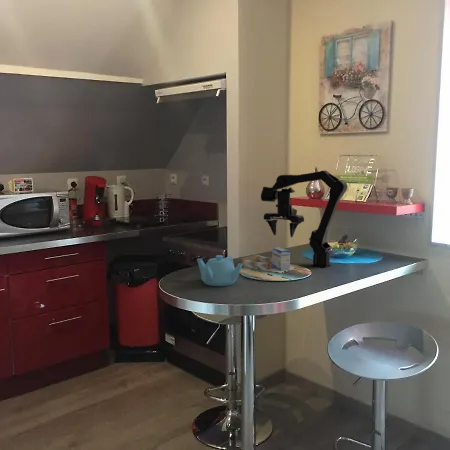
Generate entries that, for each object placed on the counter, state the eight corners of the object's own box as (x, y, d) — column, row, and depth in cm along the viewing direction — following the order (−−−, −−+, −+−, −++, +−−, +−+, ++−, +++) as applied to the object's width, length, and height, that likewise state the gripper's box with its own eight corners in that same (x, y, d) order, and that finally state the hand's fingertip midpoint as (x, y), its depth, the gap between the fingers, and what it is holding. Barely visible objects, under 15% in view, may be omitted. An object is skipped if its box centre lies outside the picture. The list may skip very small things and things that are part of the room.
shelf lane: (282, 266, 229) (282, 258, 229) (266, 271, 220) (266, 263, 219) (257, 261, 238) (257, 254, 237) (240, 266, 228) (240, 258, 228)
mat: (295, 268, 224) (295, 267, 224) (280, 273, 215) (280, 272, 215) (282, 266, 229) (282, 265, 229) (266, 271, 220) (266, 270, 220)
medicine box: (271, 267, 225) (271, 247, 224) (280, 266, 227) (280, 247, 226) (281, 271, 218) (281, 250, 217) (290, 270, 220) (290, 250, 219)
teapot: (243, 286, 195) (244, 258, 193) (205, 289, 191) (205, 260, 190) (232, 277, 210) (233, 251, 208) (196, 279, 206) (196, 252, 204)
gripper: (310, 202, 234) (309, 236, 237) (276, 199, 246) (276, 232, 248) (297, 204, 226) (297, 239, 228) (263, 201, 238) (262, 234, 240)
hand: (283, 236), depth 236 cm, fingers open, 9 cm apart
